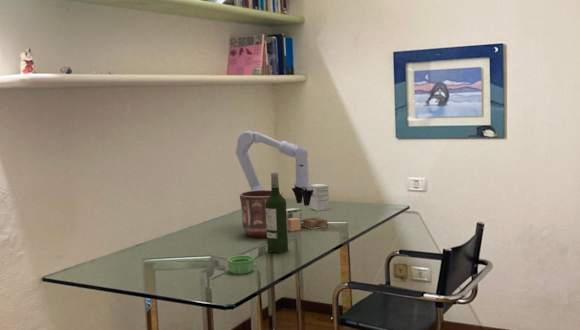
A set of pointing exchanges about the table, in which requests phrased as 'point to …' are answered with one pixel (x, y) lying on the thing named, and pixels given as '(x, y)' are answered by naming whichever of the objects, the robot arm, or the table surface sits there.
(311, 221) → the walnut block
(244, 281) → the table surface
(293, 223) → the terracotta cube
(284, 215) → the wine bottle
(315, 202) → the supplement box
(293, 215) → the syrup box
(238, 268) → the ramekin
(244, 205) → the pottery
